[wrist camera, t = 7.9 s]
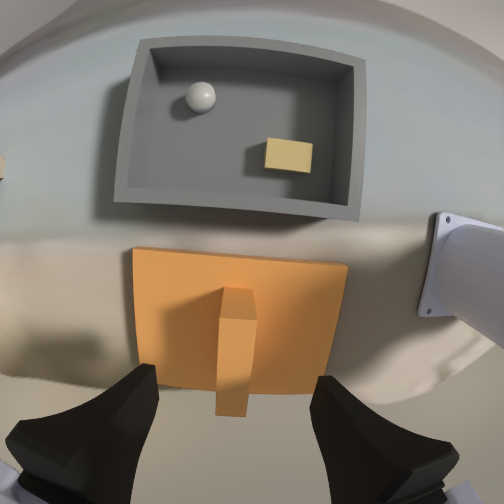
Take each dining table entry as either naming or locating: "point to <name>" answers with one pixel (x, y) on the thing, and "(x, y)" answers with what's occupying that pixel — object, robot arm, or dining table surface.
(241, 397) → the lid
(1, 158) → the architectural model
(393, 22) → the dining table surface
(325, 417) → the robot arm
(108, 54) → the dining table surface
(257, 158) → the tub
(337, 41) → the dining table surface
